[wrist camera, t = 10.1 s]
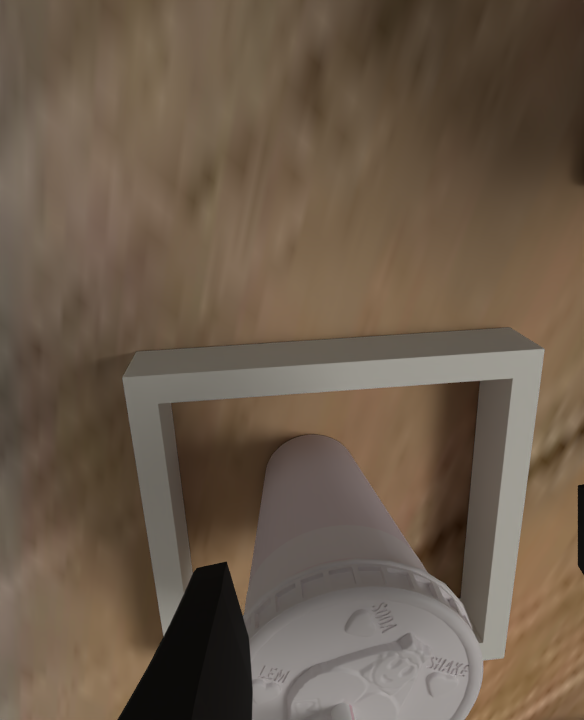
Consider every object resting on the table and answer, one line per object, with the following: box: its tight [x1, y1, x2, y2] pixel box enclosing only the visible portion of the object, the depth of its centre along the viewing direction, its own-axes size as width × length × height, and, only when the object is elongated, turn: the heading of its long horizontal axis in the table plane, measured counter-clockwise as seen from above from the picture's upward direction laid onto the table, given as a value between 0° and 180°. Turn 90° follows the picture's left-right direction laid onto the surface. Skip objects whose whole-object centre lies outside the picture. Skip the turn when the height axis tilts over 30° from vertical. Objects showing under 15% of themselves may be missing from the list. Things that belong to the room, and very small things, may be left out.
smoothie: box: [243, 435, 483, 720], centre depth 16 cm, size 6×6×14 cm
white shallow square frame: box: [122, 328, 545, 660], centre depth 21 cm, size 14×14×2 cm
